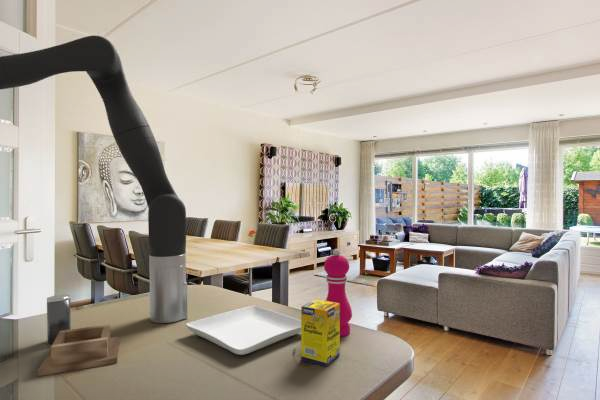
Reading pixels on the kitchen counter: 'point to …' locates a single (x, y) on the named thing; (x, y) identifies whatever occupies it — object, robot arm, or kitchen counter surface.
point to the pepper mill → (338, 287)
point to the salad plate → (246, 328)
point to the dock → (80, 350)
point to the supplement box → (320, 332)
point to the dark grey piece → (58, 316)
